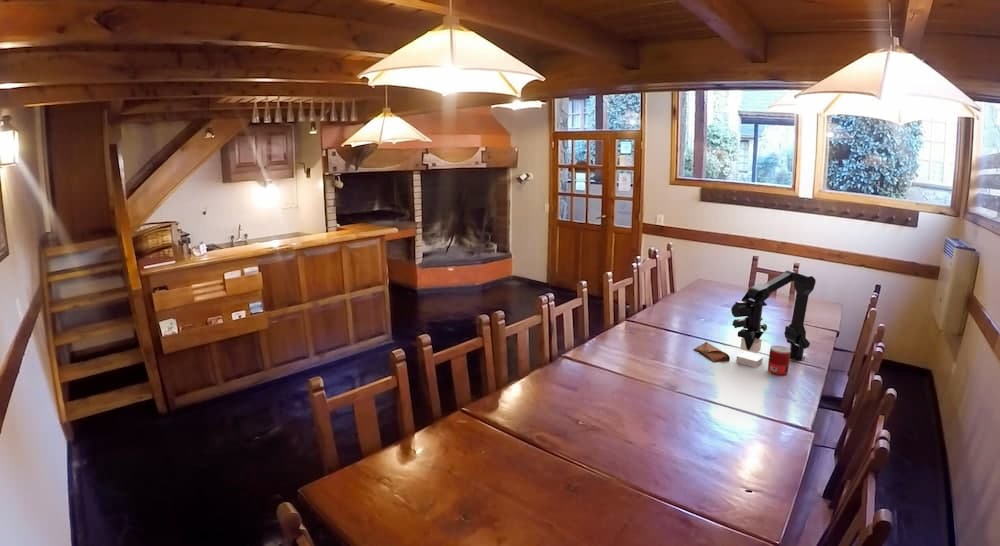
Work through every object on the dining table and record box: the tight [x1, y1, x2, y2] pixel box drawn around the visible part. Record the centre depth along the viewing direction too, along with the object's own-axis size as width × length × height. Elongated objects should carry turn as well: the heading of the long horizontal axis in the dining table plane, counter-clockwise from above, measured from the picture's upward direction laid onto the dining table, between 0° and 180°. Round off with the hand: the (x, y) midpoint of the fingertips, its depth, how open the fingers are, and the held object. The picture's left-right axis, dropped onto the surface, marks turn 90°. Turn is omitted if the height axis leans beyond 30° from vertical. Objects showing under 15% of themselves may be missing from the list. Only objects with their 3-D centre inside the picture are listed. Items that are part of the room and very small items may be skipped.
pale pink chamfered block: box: [735, 351, 764, 369], centre depth 267 cm, size 7×9×3 cm
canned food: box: [767, 345, 791, 377], centre depth 256 cm, size 8×8×11 cm
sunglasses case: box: [692, 341, 731, 363], centre depth 277 cm, size 18×7×7 cm
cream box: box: [739, 337, 763, 354], centre depth 266 cm, size 5×7×5 cm
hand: (750, 348), depth 266 cm, fingers closed on cream box, 5 cm apart
